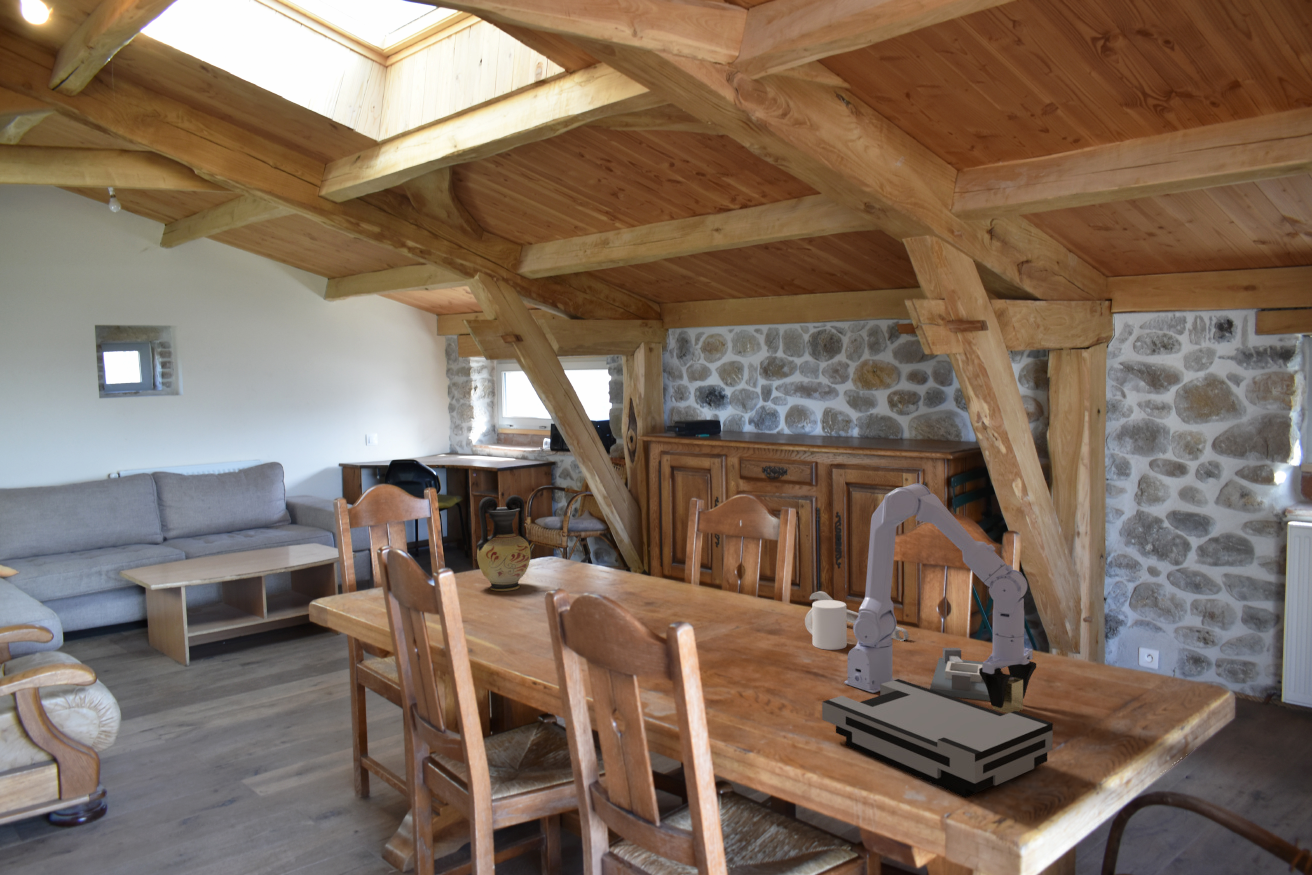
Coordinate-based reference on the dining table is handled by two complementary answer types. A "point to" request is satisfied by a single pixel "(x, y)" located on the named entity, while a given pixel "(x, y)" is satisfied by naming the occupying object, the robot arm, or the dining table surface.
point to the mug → (828, 624)
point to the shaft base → (959, 676)
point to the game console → (941, 736)
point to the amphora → (503, 544)
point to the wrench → (854, 615)
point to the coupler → (1012, 696)
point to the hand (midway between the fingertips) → (1007, 701)
